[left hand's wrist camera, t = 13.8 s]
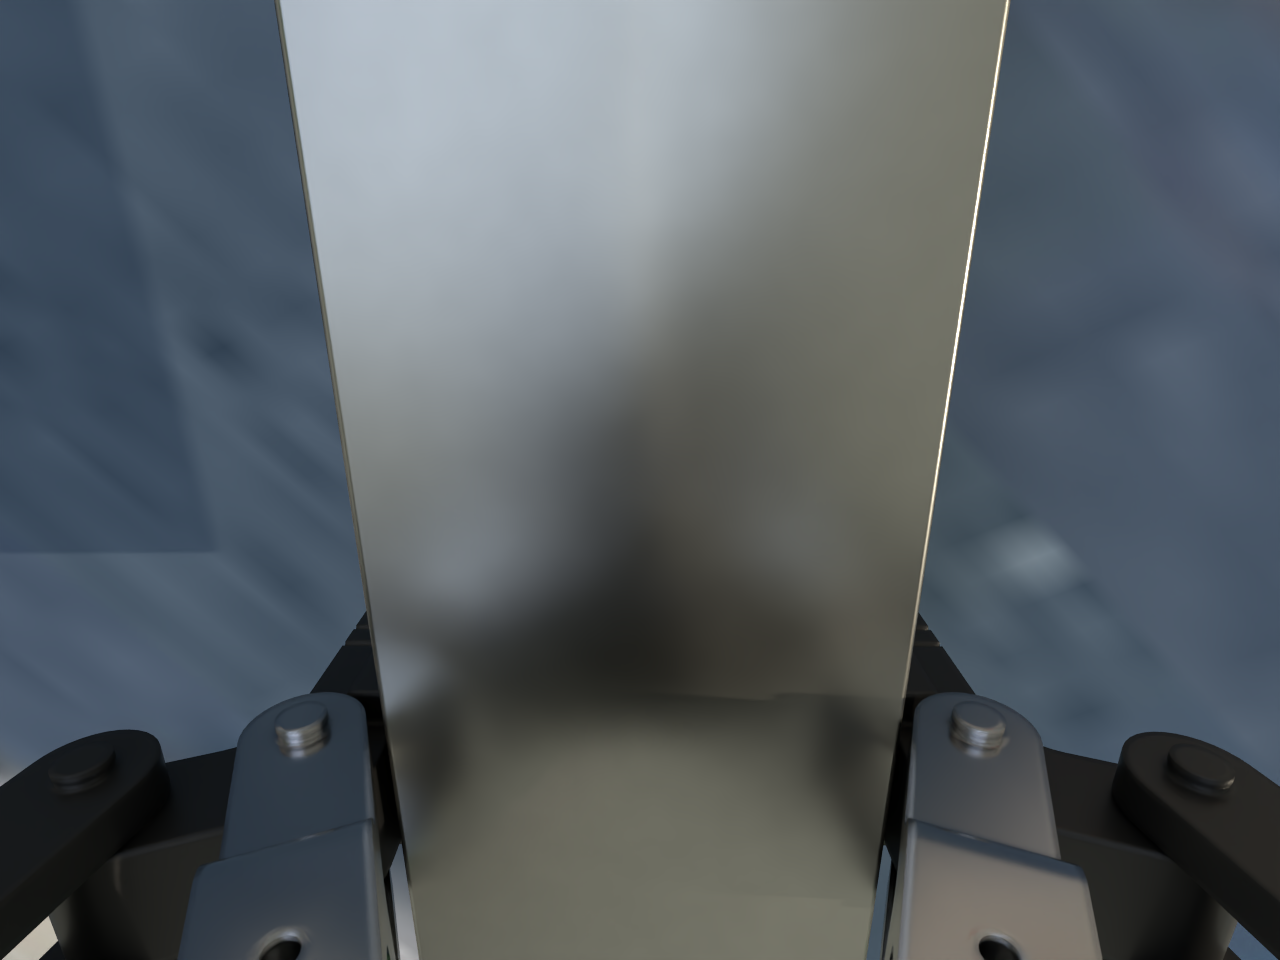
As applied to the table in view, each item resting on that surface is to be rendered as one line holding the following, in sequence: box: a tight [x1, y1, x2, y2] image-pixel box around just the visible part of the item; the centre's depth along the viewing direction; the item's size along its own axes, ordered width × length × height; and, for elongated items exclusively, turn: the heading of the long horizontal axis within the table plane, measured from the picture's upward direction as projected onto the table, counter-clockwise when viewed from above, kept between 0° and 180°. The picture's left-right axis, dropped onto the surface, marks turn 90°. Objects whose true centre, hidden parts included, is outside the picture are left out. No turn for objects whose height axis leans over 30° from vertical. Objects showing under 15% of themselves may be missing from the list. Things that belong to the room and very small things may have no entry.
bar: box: [274, 0, 1010, 960], centre depth 9 cm, size 23×5×8 cm, turn 0°
